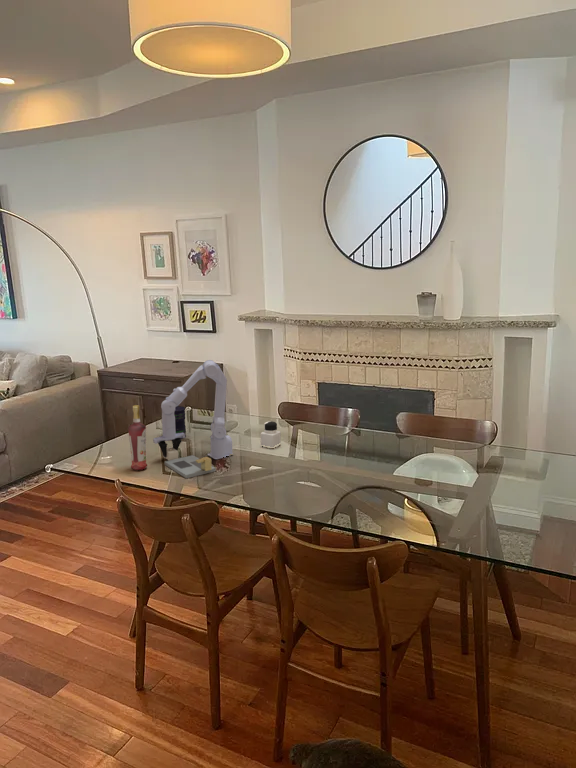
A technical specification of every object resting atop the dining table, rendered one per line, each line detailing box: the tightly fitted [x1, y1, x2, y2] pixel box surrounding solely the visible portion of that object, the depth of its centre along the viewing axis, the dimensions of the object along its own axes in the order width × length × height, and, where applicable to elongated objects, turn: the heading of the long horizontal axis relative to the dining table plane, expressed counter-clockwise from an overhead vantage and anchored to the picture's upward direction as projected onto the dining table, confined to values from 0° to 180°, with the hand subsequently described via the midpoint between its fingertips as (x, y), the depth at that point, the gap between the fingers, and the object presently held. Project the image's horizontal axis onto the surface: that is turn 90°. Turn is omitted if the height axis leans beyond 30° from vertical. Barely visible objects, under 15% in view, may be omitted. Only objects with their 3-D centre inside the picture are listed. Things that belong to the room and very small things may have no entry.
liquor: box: [127, 404, 148, 471], centre depth 252 cm, size 7×7×28 cm
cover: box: [162, 446, 180, 461], centre depth 265 cm, size 4×7×4 cm, turn 37°
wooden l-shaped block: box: [196, 456, 213, 471], centre depth 249 cm, size 6×4×5 cm, turn 127°
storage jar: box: [174, 405, 187, 440], centre depth 297 cm, size 10×10×15 cm
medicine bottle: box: [260, 420, 282, 447], centre depth 283 cm, size 7×7×12 cm
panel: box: [164, 454, 217, 479], centre depth 256 cm, size 14×20×2 cm
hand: (170, 455), depth 266 cm, fingers closed on cover, 4 cm apart
